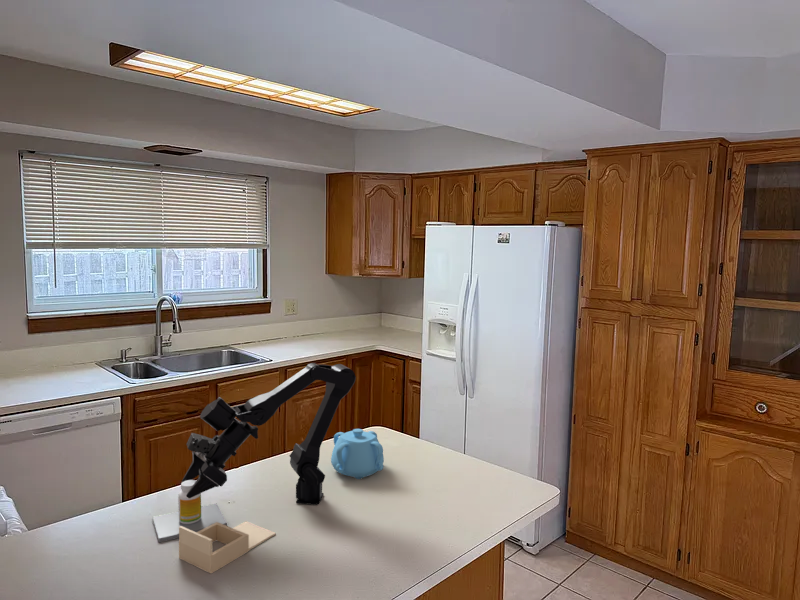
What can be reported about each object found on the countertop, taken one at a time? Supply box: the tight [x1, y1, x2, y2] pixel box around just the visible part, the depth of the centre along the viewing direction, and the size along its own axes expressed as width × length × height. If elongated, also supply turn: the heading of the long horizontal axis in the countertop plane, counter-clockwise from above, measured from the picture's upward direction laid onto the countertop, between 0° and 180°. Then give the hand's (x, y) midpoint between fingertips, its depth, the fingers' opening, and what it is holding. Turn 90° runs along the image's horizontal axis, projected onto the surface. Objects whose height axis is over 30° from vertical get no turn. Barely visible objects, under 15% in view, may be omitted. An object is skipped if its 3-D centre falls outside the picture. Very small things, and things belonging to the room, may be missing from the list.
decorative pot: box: [330, 428, 385, 480], centre depth 178 cm, size 16×16×14 cm
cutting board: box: [152, 503, 228, 543], centre depth 144 cm, size 16×12×1 cm
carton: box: [178, 521, 276, 574], centre depth 133 cm, size 20×11×8 cm, turn 148°
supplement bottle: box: [177, 479, 202, 524], centre depth 143 cm, size 5×5×10 cm
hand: (185, 489), depth 143 cm, fingers open, 9 cm apart
